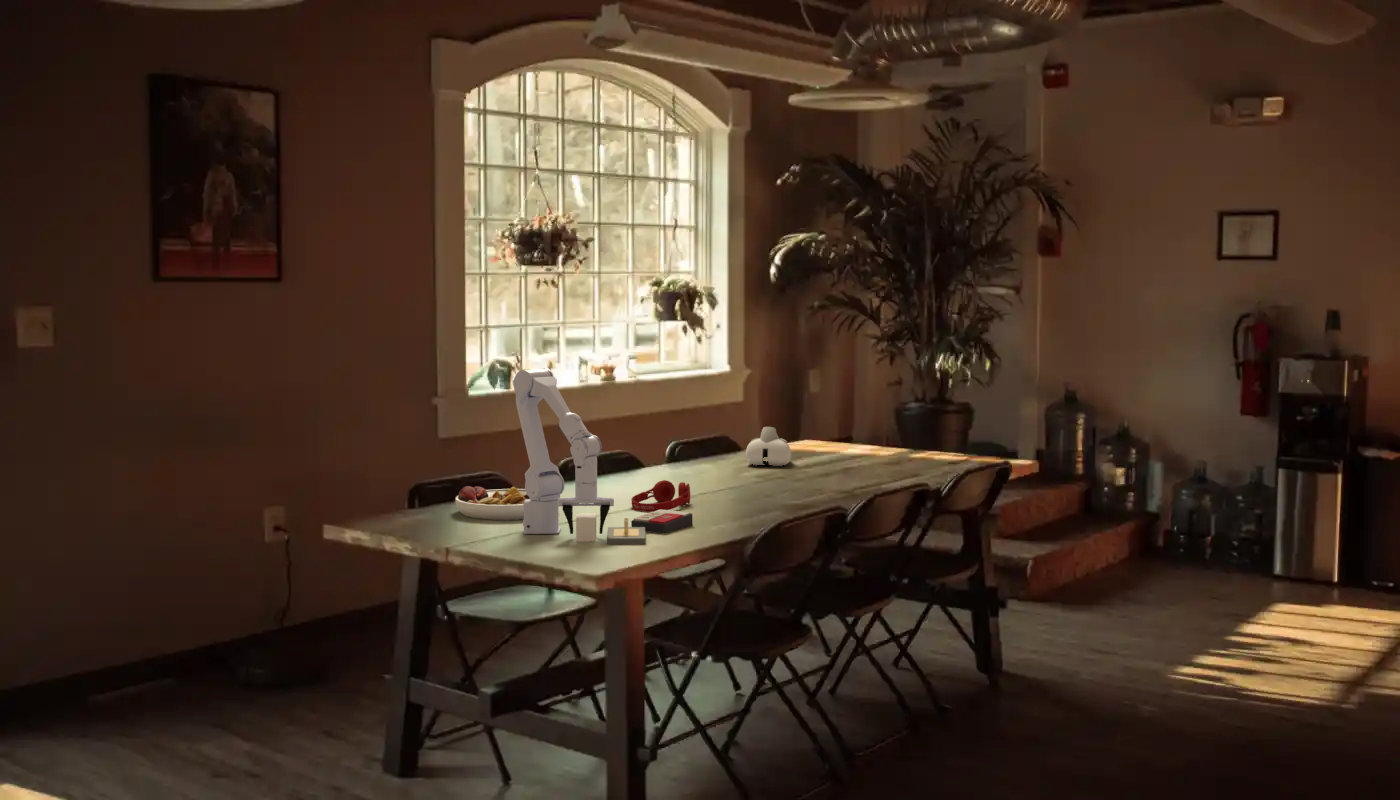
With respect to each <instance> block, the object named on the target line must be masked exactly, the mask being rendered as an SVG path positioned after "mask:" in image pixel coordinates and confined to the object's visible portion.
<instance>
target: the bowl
mask: <svg viewBox="0 0 1400 800" xmlns="http://www.w3.org/2000/svg"><path fill="white" fill-rule="evenodd" d="M526 499H530V497H529V496H528V495H527V493H526V490H525V488H516V487H515V486H512V487H510V488H501V489H499V488H498V489H486V488H484V487H482V486H474V487H473V486H471V485H470V486H469V485H466V486H463V487H462V488H461V489H460V490H459V492H458V495H456V496H455V500H454V501H455V506H456V509H457V510H458V511H459V512H460V513H461V514H463V515H464V516H466V517H468V516H469V517H468V518H472V517H474V518H473V519H477V518H482V519H481V520H486V519H494V520H493V521H513V520H515V519H519V520H524V500H526ZM558 499H559V498H558ZM515 521H516V520H515Z"/></svg>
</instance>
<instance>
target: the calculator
mask: <svg viewBox="0 0 1400 800" xmlns="http://www.w3.org/2000/svg"><path fill="white" fill-rule="evenodd" d="M630 523H631V525H630V527H645V533H646V532H647V533H655V534H666V535H667V534H668V533H669V534H670V533H672V532H675V531H678V530H682V529H683V528H689V527H692V526H693V513H691V512H690V511H678V510H672V509H670V510H661V509H660V510H657V511H654V512H647V513H645V514H643V515H640V516H636V517H634V518H633V519H632V520H631V522H630Z"/></svg>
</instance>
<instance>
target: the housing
mask: <svg viewBox="0 0 1400 800" xmlns="http://www.w3.org/2000/svg"><path fill="white" fill-rule="evenodd" d="M575 529H576V530H575V534H576V535H575V536H576V537H575V538H576V539H575V540H576V541H575V542H596V541H597V513H594V512H593V513H591V512H590V513H588V512H587V513H586V512H585V513H582V512H581V513H577V514H576V518H575Z"/></svg>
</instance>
